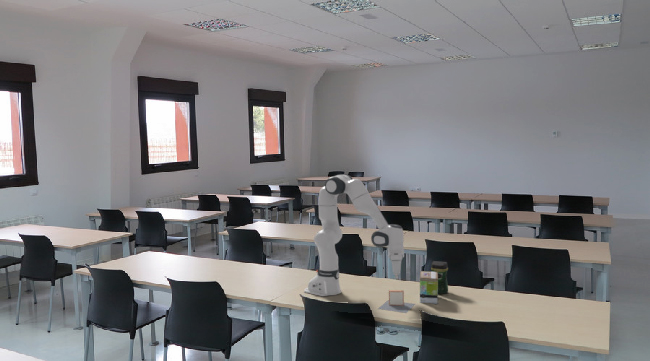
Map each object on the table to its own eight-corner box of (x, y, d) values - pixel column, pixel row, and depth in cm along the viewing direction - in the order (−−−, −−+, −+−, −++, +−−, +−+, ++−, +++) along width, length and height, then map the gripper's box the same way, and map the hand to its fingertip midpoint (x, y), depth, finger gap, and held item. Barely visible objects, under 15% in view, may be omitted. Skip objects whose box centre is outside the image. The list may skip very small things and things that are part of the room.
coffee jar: (449, 291, 309) (449, 260, 308) (446, 295, 302) (446, 263, 300) (433, 289, 313) (433, 259, 312) (429, 293, 306) (429, 262, 305)
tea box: (438, 304, 286) (438, 278, 285) (419, 303, 288) (419, 277, 287) (437, 296, 301) (437, 271, 300) (420, 295, 303) (420, 270, 302)
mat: (377, 309, 279) (377, 308, 279) (388, 301, 293) (388, 300, 293) (406, 314, 272) (406, 312, 271) (415, 305, 286) (415, 303, 286)
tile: (388, 304, 286) (388, 290, 285) (403, 304, 285) (403, 290, 284) (388, 305, 284) (388, 291, 283) (403, 305, 283) (403, 291, 282)
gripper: (390, 249, 299) (390, 273, 300) (390, 257, 278) (390, 283, 279) (401, 249, 298) (401, 273, 299) (402, 257, 278) (402, 283, 279)
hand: (396, 278), depth 289 cm, fingers closed
